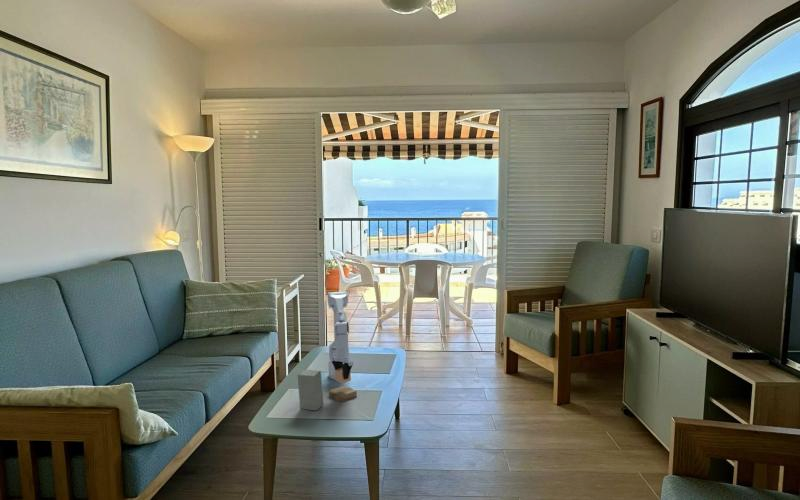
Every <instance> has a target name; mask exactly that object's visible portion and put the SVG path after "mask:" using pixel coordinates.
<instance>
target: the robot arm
mask: <svg viewBox="0 0 800 500" xmlns="http://www.w3.org/2000/svg"><path fill="white" fill-rule="evenodd" d="M348 294H349V292H348V291H333V292H330V291H328V292H327V303H328V308H329V309H331V310H332V311H333V334H334V335H333V338H334V339H333V341H332V342H331V343H330V344H329V346H328V347H329V348H328V359H329V361H328V374H327V375H326V377H328V378H330V379H332V380H334V381H335V370H336V369H340V368H342V371H343V378H344V379H348V378H349V373H350V370H352V368H353V366H354V360H352V359H351V358H350V349H349V333H350V324H349V323H350V322H349V321H348V317H347V312H345V311H344V308H347V306H348V303H349V295H348Z"/></svg>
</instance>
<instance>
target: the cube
mask: <svg viewBox="0 0 800 500" xmlns="http://www.w3.org/2000/svg"><path fill="white" fill-rule="evenodd" d="M351 370H352V369H351ZM351 370H350V373H349V378H348V379H344V378H343V371H342V368H340V369H336V370H335V380H334V381H335V382H337V383H340V384H344V383H347V382H351V381H352V380H351Z"/></svg>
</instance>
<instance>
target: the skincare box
mask: <svg viewBox="0 0 800 500" xmlns="http://www.w3.org/2000/svg"><path fill="white" fill-rule="evenodd" d="M296 376H297V385H298V394H299V395H298V397H299V407H300V408H299V409H301V410H307V411H308V410H309V411H310V410H311V411H317V410H319V409H320V408H321V407H322V406H324V394H323V385H322V371H321V370H318V369H317V370H314V369H306V368H305V369H303V370H302V371H301V372H299V373H298V374H297V375H296Z"/></svg>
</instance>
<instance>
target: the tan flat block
mask: <svg viewBox="0 0 800 500" xmlns="http://www.w3.org/2000/svg"><path fill="white" fill-rule="evenodd" d="M357 391H358V390H356V389H354V388H352V387H349V386H348V385H342V386H339V387H336V388H333V389H329V390H328V395H329V397H330V398H333V399H334V400H336V401H337V402H340V403H341V402H344V401H347V400H350V399H354V398H356V397H358V395H357V393H358V392H357Z"/></svg>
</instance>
